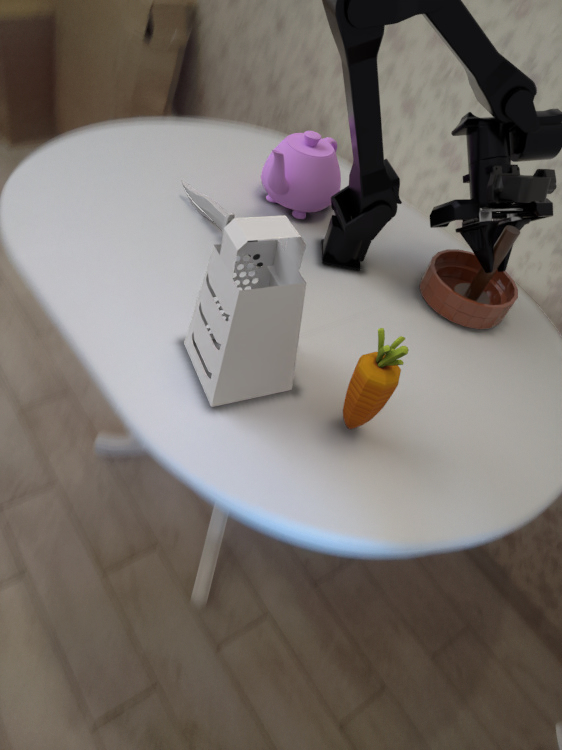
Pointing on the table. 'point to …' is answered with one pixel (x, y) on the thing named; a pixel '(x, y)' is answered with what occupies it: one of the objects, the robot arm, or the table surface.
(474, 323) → the bowl
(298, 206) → the teapot
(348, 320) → the table surface
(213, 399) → the grater
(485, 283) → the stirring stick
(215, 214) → the knife
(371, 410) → the carrot
